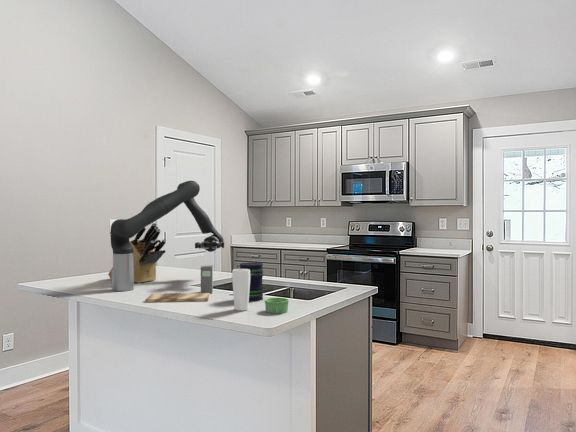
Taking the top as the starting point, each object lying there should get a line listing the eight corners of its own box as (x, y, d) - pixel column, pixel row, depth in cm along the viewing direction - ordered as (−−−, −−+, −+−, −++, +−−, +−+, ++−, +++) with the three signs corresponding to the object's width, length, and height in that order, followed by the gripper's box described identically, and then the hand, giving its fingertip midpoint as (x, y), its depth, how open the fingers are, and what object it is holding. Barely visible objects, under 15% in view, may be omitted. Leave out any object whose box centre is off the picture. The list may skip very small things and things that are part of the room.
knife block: (151, 285, 229) (150, 223, 229) (107, 279, 249) (107, 222, 248) (168, 282, 239) (167, 223, 238) (125, 277, 258) (124, 222, 258)
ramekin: (259, 312, 167) (259, 300, 167) (273, 308, 175) (273, 296, 175) (280, 315, 162) (280, 303, 162) (293, 310, 170) (293, 298, 170)
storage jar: (254, 302, 185) (254, 265, 185) (234, 300, 190) (234, 264, 190) (267, 298, 194) (267, 263, 193) (248, 296, 198) (248, 262, 198)
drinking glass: (236, 312, 167) (236, 271, 167) (229, 308, 173) (229, 269, 173) (253, 310, 170) (253, 270, 170) (246, 307, 176) (246, 268, 176)
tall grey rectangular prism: (200, 293, 205) (200, 267, 205) (201, 291, 210) (201, 265, 210) (212, 293, 205) (211, 266, 205) (212, 291, 210) (212, 265, 210)
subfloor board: (145, 302, 186) (145, 298, 186) (151, 296, 198) (151, 293, 198) (207, 301, 188) (207, 297, 188) (209, 295, 200) (209, 292, 200)
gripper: (197, 236, 234) (193, 238, 218) (225, 236, 235) (223, 238, 219) (197, 251, 234) (193, 254, 218) (225, 250, 235) (223, 253, 219)
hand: (208, 246), depth 219 cm, fingers open, 8 cm apart
